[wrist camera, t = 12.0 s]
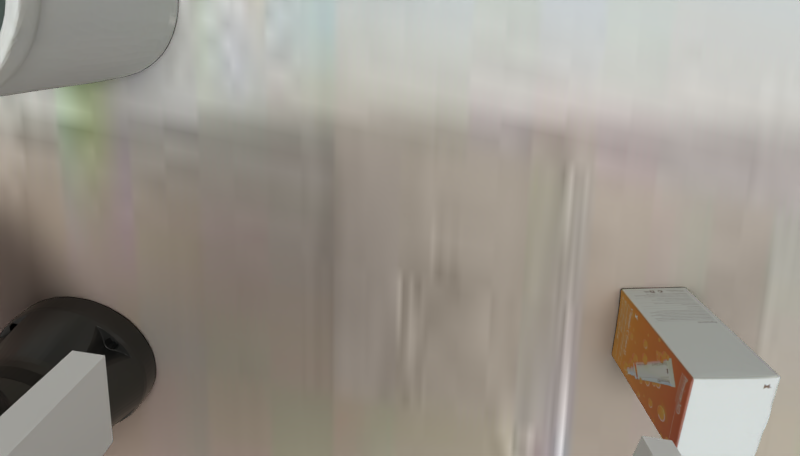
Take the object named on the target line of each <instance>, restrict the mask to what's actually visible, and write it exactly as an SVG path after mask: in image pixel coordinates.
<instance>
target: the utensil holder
mask: <svg viewBox="0 0 800 456" xmlns="http://www.w3.org/2000/svg"><path fill="white" fill-rule="evenodd" d="M177 13H178V0H0V96H6V95H13V94H19V93H26V92H32V91H38V90H45V89H51V88H59V87H66V86H74V85H81V84H88V83H94V82H99V81H104V80H110V79H115V78H120V77H125V76H129V75H132V74H135V73H137V72H140V71H142V70H143V69H145V68H147V67H148V66H150V65H151V64H152V63H154V62H155V61H156V60H157V59H158V58H159V57H160V56H161V54H162V53H163V52H164V50H165V49H166V47H167V46H168V44H169V42H170V39H171V37H172V35H173V32H174V28H175V24H176V20H177Z"/></svg>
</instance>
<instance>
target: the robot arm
mask: <svg viewBox="0 0 800 456" xmlns="http://www.w3.org/2000/svg"><path fill="white" fill-rule="evenodd" d="M155 373H156V368H155V361H154V357H153V354H152V351H151V349H150V347H149V345H148V343H147V342H146V340H145V339H144V337H143V336H142V335H141V333H140V332H139V331H138V330H137V329H136V328H135V327H134V326H133V325H132V324H131V323H130V322H129V321H128V320H126V319H125V318H124V317H122V316H121V315H119V314H118V313H116V312H115V311H113V310H111V309H109V308H107V307H105V306H103V305H100V304H98V303H95V302H92V301H88V300H84V299H79V298H69V297H61V298H52V299H48V300H44V301H41V302H39V303H37V304H35V305H33V306H31V307H30V308H28V309H27V310H25V311H24V312H23V313H21V314H20V315H18V316H17V317H16V318H14V319H13V320H12V321H11V322H10V323H9V324H8V325H7V326H6V327H5V328H4V330H3V331H2V333H1V334H0V456H103V454H104V453H105V452H106V450H107V449H108V448H109V446H110V445H111V444H112V442H113V435H112V426H113V425H115V424H116V423H119V422H120V421H122V420H123V419H125V418H127V417H128V416H129V415H131V414H132V413H133V412H134V411H135V410H136V409H137V408H138V407H139V405H140V404H141V403H142V401H143V400H144V399H145V397H146V396H147V395H148V393H149V392H150V390H151V388H152V386H153V384H154V380H155ZM633 456H682V455H681V454H680V452H679V451H678V449H677V447H676V446H675V444H674V443H673V441H672V440H666V439H660V438H653V437H646V436H642V437H641V439H640V441H639V443H638V445H637V447H636V449H635V451H634V453H633Z"/></svg>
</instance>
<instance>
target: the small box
mask: <svg viewBox="0 0 800 456" xmlns="http://www.w3.org/2000/svg"><path fill="white" fill-rule="evenodd" d="M612 356H613V358H614V359H615V361H616V363H617V364H618V366H619V368H620V369H621V371H622V373H623V374H624V376H625V377H626V379H627V381H628V382H629V384H630V386H631V387H632V389H633V391H634V392H635V394H636V396H637V397H638V399H639V401H640V402H641V404H642V405H643V407H644V409H645V410H646V412H647V414H648V415H649V417H650V419H651V420H652V422H653V424H654V425H655V427H656V429H657V430H658V432H659V434H660V435H661V437H662V439H666V440H672V441H673V443H674V444H675V446H676V447H677V449H678V451H679V452H680V454H681V455H682V456H755V454H756V451H757V448H758V445H759V443H760V440H761V437H762V434H763V431H764V429H765V427H766V424H767V422H768V420H769V417H770V412H771V408H772V403H773V400H774V397H775V394H776V391H777V387H778V384H779V381H780V378H781V377H780V376H779V375H778V374H777V373H776V372H775V371H774V370H773V369H772V368H771V367H770V366H769V365H768V364H767V363H766V362H764V361H763V360H762V359H761V358H760V357H759V356H758V355H757V354H756V353H755V352H754V351H753V350H752V349H751V348H749V347H748V346H747V345H746V344H745V343H744V342H743V341H742V340H741V339H740V338H739V337H738V336H737V335H736V334H735V333H733V332H732V331H731V330H730V329H729V328H728V327H727V326H726V325H725V324H724V323H723V322H722V321H721V320H720V319H719V318H718V317H716V316H715V315H714V314H713V313H712V312H711V311H710V310H709V309H708V308H707V307H706V306H705V305H704V304H703V303H702V302H700V301H699V300H698V299H697V298H696V297H695V296H694V295H693V294H692V293H691V292H690V291H689V290H688V289H687V288H684V287H680V288H641V289H622V290H621V298H620V306H619V314H618V320H617V327H616V333H615V339H614V345H613V350H612Z"/></svg>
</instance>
